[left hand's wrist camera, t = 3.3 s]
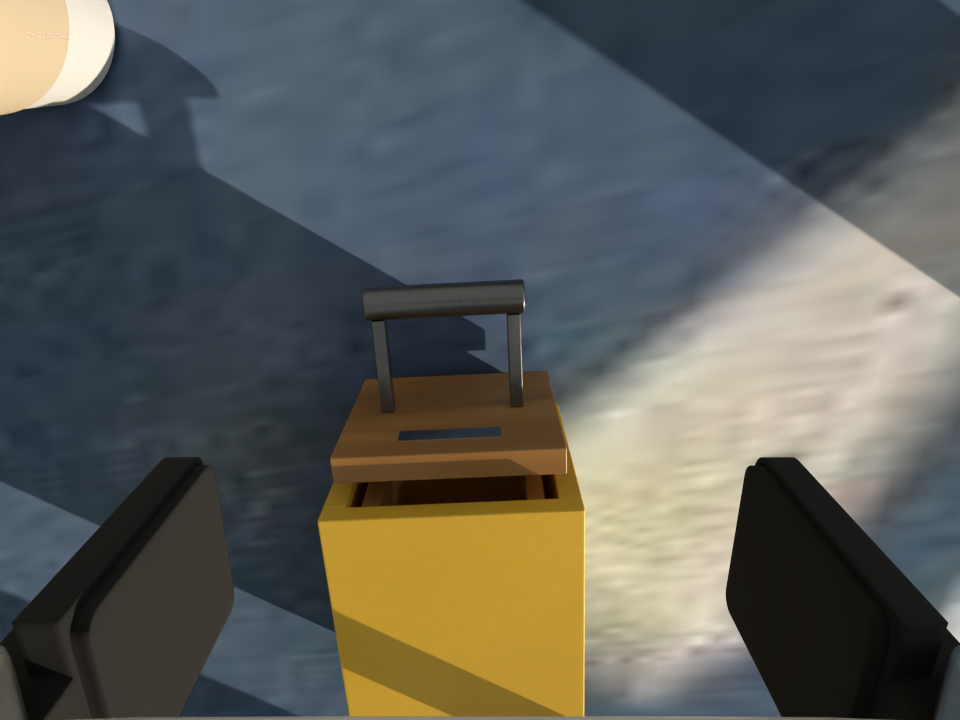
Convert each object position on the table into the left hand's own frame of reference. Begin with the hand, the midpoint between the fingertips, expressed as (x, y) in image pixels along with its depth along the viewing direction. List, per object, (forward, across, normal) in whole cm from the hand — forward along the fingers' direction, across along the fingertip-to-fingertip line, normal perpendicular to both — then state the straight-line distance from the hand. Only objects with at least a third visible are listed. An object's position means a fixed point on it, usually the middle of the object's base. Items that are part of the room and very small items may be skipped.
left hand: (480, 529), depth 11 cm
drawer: (+22, +1, +11) cm, 25 cm away
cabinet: (+23, +1, +17) cm, 29 cm away
